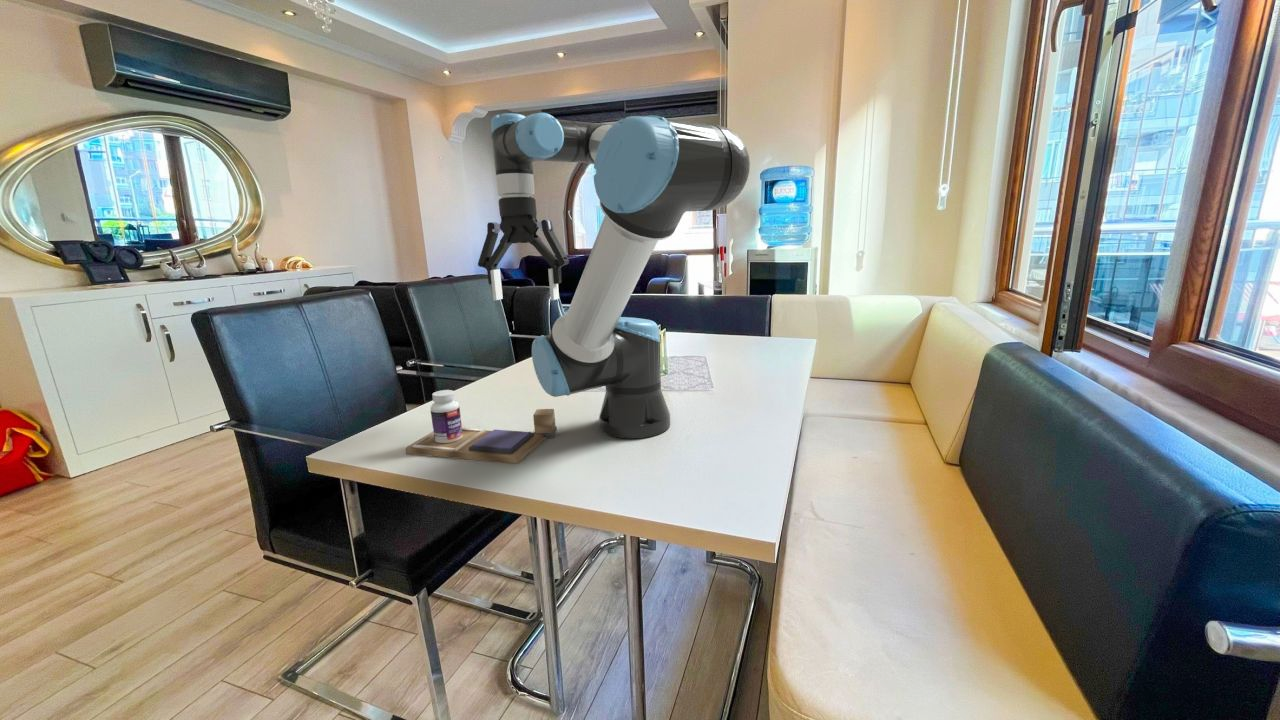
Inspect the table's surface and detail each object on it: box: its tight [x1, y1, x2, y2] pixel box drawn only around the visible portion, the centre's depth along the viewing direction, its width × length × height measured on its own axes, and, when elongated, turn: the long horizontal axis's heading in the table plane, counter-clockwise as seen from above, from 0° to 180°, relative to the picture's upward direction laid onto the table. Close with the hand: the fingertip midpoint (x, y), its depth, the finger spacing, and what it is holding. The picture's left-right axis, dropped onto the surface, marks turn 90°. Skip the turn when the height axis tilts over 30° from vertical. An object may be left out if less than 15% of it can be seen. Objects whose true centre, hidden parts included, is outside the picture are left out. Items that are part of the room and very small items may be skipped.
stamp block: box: [533, 408, 558, 439], centre depth 107 cm, size 4×4×5 cm
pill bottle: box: [430, 389, 463, 443], centre depth 102 cm, size 5×5×10 cm
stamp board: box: [404, 427, 545, 465], centre depth 102 cm, size 24×11×2 cm, turn 74°
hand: (526, 299), depth 112 cm, fingers open, 13 cm apart
